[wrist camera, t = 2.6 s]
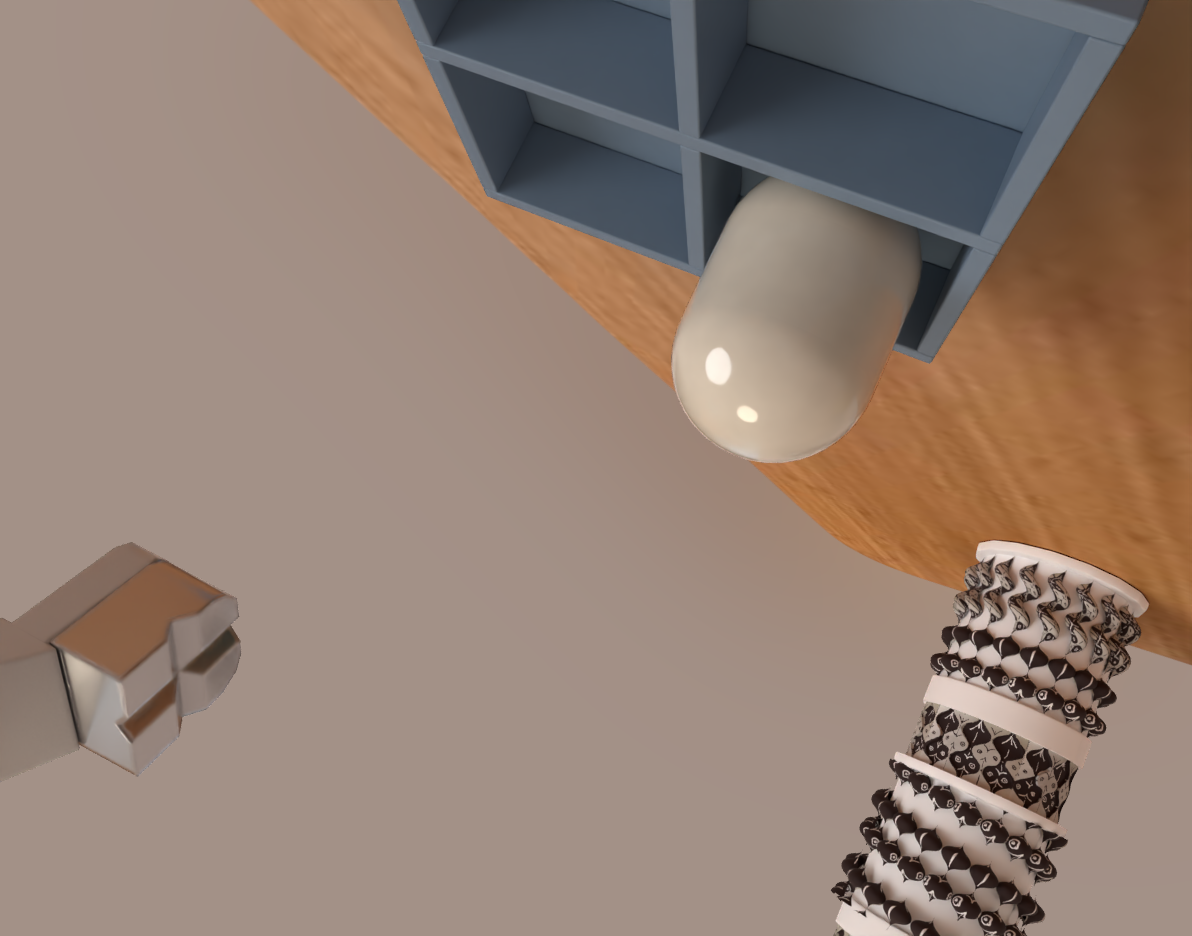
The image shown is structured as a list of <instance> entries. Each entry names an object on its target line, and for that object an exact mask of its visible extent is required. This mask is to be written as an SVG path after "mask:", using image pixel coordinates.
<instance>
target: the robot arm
mask: <svg viewBox="0 0 1192 936" xmlns="http://www.w3.org/2000/svg"><path fill="white" fill-rule="evenodd" d="M238 617H239V613H238V604H237V598H235V597H234V596H231V595H230V594H228V593H226V592H224V591H222V590H220V589H218V588H216V587H215V586H213V585H211V584H209V583H207V582H205V581H203V580H201V579H200V578H198V577H196V576H194V575H192V574H190V573H188V572H186V571H184V570H183V569H181V568H178V567H176V566H175V565H173V564H171V563H170V562H169V561H167V560H165V559H163V558H161V557H159V556H157V555H156V554H154V553H152V552H150V551H148V550H146V549H144V548H142V547H140V546H138V545H136V544H134V543H132V542H131V543H127V544H124V545H121V546H118V547H116V548H113V549H112V550H111V551H109V552H108V553H107V554H105V555H104V556H102V557H101V558H100V559H98V560H97V561H96V562H94V563H93V564H92V565H90V566H89V567H87V568H86V569H85V570H83V571H82V572H81V573H79V574H78V575H76V576H75V577H74V578H72V579H71V580H70V581H68V582H67V583H66V584H65V585H63V586H62V587H60V588H59V589H57V590H56V591H55V592H53V593H52V594H51V595H49V596H48V597H46V598H45V599H44V600H42V601H41V602H40V603H38V604H37V605H35V606H34V607H33V608H31V609H30V610H29V611H27V612H26V613H25V614H23V615H22V616H21V617H19V618H18V619H16V620H15V621H14V622H12V623H11V622H9V621H7V620H5V619H3V618H0V782H2V781H4V780H6V779H9V778H11V777H14V776H16V775H19V774H21V773H24V772H26V771H28V770H31V769H33V768H36V767H38V766H41V765H43V764H45V763H48V762H50V761H53V760H55V759H57V758H60V757H63V756H65V755H67V754H70V753H72V752H75V751H77V750H79V748H80V747H79V745H81V746H83V747H85V748H86V749H88V750H90V751H92V752H94V753H95V754H97V755H99V756H101V757H103V758H105V759H106V760H108V761H110V762H112V763H114V764H116V765H118V766H119V767H121V768H123V769H125V770H126V771H128V772H130V773H132V774H134V775H136V776H139V775H140V774H141V773H142V772H143V771H144V770H145V769H146V768H147V767H148V766H149V765H150V764H151V763H152V762H153V761H154V760H155V759H156V758H157V757H158V756H159V755H160V754H161V753H162V752H163V751H164V750H165V749H167V748H168V747H169V746H170V745H171V744H172V743H173V742H174V741H175V740H176V739H177V738H178V737H179V734H180V728H181V722H182V717H184V716H187V715H190V714H193V713H196V712H200V711H203V710H206V709H207V708H208V707H209V706H210V705H211V704H212V703H213V702H214V701H215V700H216V699H217V698H218V697H219V696H220V695H221V694H222V693H223V692H224V690H225V688H226V687H227V685H228V683H229V682H230V680H231V679H232V677H233V675H234V674H235V672H236V670H237V667H238V663H239V659H240V656H241V646H240V640H239V638H238V637H237V635H236V633H235V632H234V630H233V628H232V627H231V624H232V623H233V622H234V621H235V620H236V619H237V618H238Z"/></svg>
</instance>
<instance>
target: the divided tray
mask: <svg viewBox="0 0 1192 936" xmlns="http://www.w3.org/2000/svg"><path fill="white" fill-rule="evenodd" d="M397 1H398V3H399V6H400V8H401V10H402V12H403V14H404V16H405V19H406V21H407V23H408V25H409V27H410V29H411V32H412V34H413V36H414V38H415V40H417V41H416V43H417V45H418V47H419V49H420V51H421V53H422V54H423V58H424V60H425V62H426V64H427V67H428V69H429V71H430V73H431V75H432V77H433V80H434V82H435V84H436V86H437V88H438V91H439V93H440V95H441V97H442V99H443V101H444V104H445V106H446V108H447V110H448V112H449V114H450V117H451V119H452V121H453V123H454V125H455V128H456V130H457V132H458V134H459V136H460V138H461V141H462V143H463V145H464V147H465V149H466V152H467V154H468V156H469V158H470V160H471V162H472V165H473V167H474V169H475V171H476V173H477V175H478V178H479V180H480V182H481V184H482V186H483V187H484V191H485V193H486V195H487V196H488V197H491V198H493V199H496V200H499V201H501V202H504V203H507V204H509V205H512V206H515V207H517V208H520V209H522V210H525V211H528V212H530V213H533V214H536V215H538V216H541V217H544V218H546V219H549V220H551V221H554V222H557V223H559V224H562V225H565V226H567V227H570V228H573V229H575V230H578V231H581V232H583V233H586V234H588V235H591V236H594V237H596V238H599V239H602V240H604V241H607V242H610V243H612V244H615V245H617V246H620V247H623V248H625V249H628V250H631V251H633V252H636V253H639V254H641V255H644V256H647V257H649V258H652V259H654V260H657V261H660V262H662V263H665V264H668V265H670V266H673V267H676V268H678V269H681V270H683V271H686V272H689V273H691V274H694V275H697V276H699V277H700V276H701V274H702V272H703V270H704V268H705V266H706V264H707V262H708V259H709V257H710V255H711V253H712V251H713V249H714V247H715V245H716V243H717V240H718V238H719V236H720V234H721V232H722V230H723V228H724V226H725V224H726V221H727V220H728V218H729V216H730V214H731V213H732V211H733V209H734V208H735V207H736V205H737V204H738V203H739V202H740V200H741V199H742V198H743V196H744V195H745V194H746V193H747V192H748V191H749V190H750V189H751V188H752V187H754V186H755V185H756V184H758V183H759V182H760V181H762V180H763V179H764V178H766V177H767V176H771V177H774V178H777V179H779V180H782V181H785V182H788V183H791V184H794V185H797V186H799V187H802V188H805V189H808V190H811V191H814V192H817V193H819V194H822V195H825V196H828V197H831V198H834V199H837V200H839V201H842V202H845V203H848V204H851V205H854V206H857V207H860V208H862V209H865V210H868V211H871V212H874V213H877V214H880V215H882V216H885V217H888V218H891V219H894V220H897V221H900V222H902V223H905V224H908V225H911V226H914V227H917V228H918V230H919V234H920V237H921V243H922V251H923V264H922V274H921V279H920V284H919V288H918V291H917V294H916V297H915V300H914V302H913V304H912V307H911V309H910V311H909V314H908V316H907V318H906V321H905V323H904V325H903V328H902V330H901V332H900V335H899V337H898V339H897V342H896V344H895V346H894V349H893V350H895V351H897V352H900V353H903V354H905V355H908V356H910V357H913V358H916V359H918V360H921V361H924V362H926V363H931V362H932V360H933V359H934V357H935V355H936V354H937V352H938V351H939V349H940V347H941V346H942V344H943V342H944V341H945V339H946V338H947V336H948V334H949V333H950V331H951V329H952V328H953V326H954V325H955V323H956V321H957V320H958V318H959V316H960V315H961V313H962V311H963V310H964V308H965V307H966V305H967V303H968V302H969V300H970V298H971V297H972V295H973V294H974V292H975V290H976V289H977V287H978V285H979V284H980V282H981V281H982V279H983V277H984V276H985V274H986V272H987V271H988V269H989V267H990V266H991V264H992V263H993V261H994V259H995V258H996V256H997V254H998V253H999V251H1000V250H1001V248H1002V246H1003V245H1004V243H1005V242H1006V240H1007V238H1008V237H1009V235H1010V233H1011V232H1012V230H1013V228H1014V227H1015V225H1016V224H1017V222H1018V220H1019V219H1020V217H1021V215H1022V214H1023V212H1024V211H1025V209H1026V207H1027V206H1028V204H1029V202H1030V201H1031V199H1032V198H1033V196H1034V194H1035V193H1036V191H1037V189H1038V188H1039V186H1040V184H1041V183H1042V181H1043V180H1044V178H1045V176H1046V175H1047V173H1048V171H1049V170H1050V168H1051V167H1052V165H1053V163H1054V162H1055V160H1056V158H1057V157H1058V155H1059V154H1060V152H1061V150H1062V149H1063V147H1064V145H1065V144H1066V142H1067V140H1068V139H1069V137H1070V136H1071V134H1072V132H1073V131H1074V129H1075V127H1076V126H1077V124H1078V123H1079V121H1080V119H1081V118H1082V116H1083V114H1084V113H1085V111H1086V110H1087V108H1088V106H1089V105H1090V103H1091V101H1092V100H1093V98H1094V97H1095V95H1096V93H1097V92H1098V90H1099V88H1100V87H1101V85H1102V83H1103V82H1104V80H1105V79H1106V77H1107V75H1108V74H1109V72H1110V70H1111V69H1112V67H1113V66H1114V64H1115V62H1116V61H1117V59H1118V57H1119V56H1120V54H1121V53H1122V51H1123V49H1124V48H1125V45H1126V43H1127V42H1128V41H1129V39H1130V38H1131V36H1132V34H1133V33H1134V31H1135V30H1136V28H1137V26H1138V25H1139V23H1140V21H1141V18H1142V16H1143V13H1144V11H1145V8H1146V6H1147V3H1148V1H1149V0H397Z"/></svg>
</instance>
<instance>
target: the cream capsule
mask: <svg viewBox="0 0 1192 936" xmlns="http://www.w3.org/2000/svg"><path fill="white" fill-rule="evenodd" d="M922 264H923V251H922V243H921V237H920V234H919V230H918V228H917V227H914V226H911V225H908V224H905V223H902V222H900V221H897V220H894V219H891V218H888V217H885V216H882V215H880V214H877V213H874V212H871V211H868V210H865V209H862V208H860V207H857V206H854V205H851V204H848V203H845V202H842V201H839V200H837V199H834V198H831V197H828V196H825V195H822V194H819V193H817V192H814V191H811V190H808V189H805V188H802V187H799V186H797V185H794V184H791V183H788V182H785V181H782V180H779V179H777V178H774V177H771V176H767V177H766V178H764V179H763V180H762V181H760V182H759V183H758V184H756V185H755V186H754V187H752V188H751V189H750V190H749V191H748V192H747V193H746V194H745V195H744V196H743V198H742V199H741V200H740V202H739V203H738V204H737V205H736V207H735V208H734V209H733V211H732V213H731V214H730V216H729V218H728V220H727V221H726V224H725V226H724V228H723V230H722V232H721V234H720V236H719V238H718V240H717V243H716V245H715V247H714V249H713V251H712V253H711V255H710V257H709V259H708V262H707V264H706V266H705V268H704V270H703V272H702V274H701V276H700V278H699V281H698V283H697V285H696V287H695V289H694V291H693V293H692V295H691V297H690V300H689V302H688V304H687V306H686V308H685V310H684V312H683V315H682V317H681V319H680V322H679V324H678V327H677V329H676V332H675V336H674V340H673V345H672V355H671V363H672V377H673V383H674V387H675V390H676V393H677V396H678V399H679V402H680V404H681V406H682V408H683V410H684V412H685V413H686V415H687V416H688V418H689V419H690V421H691V422H692V424H693V425H694V426H695V427H696V428H697V429H698V430H699V431H700V433H701V434H702V435H703V436H704V437H705V438H707V439H708V440H709V441H711V442H712V443H713V444H715V445H716V446H717V447H719V448H720V449H722V450H724V451H726V452H728V453H730V454H732V455H735V456H737V457H740V458H743V459H747V460H751V461H757V462H763V463H783V462H791V461H797V460H800V459H804V458H807V457H810V456H813V455H815V454H817V453H820V452H822V451H824V450H825V449H827V448H829V447H830V446H832V445H834V444H835V443H837V442H838V441H839V440H840V439H842V438H843V437H844V436H845V435H846V434H848V432H849V431H850V430H851V429H852V428H853V427H854V426H855V425H856V424H857V422H858V421H859V420H860V418H861V417H862V415H863V414H864V412H865V411H866V409H867V407H868V405H869V403H870V401H871V399H872V397H873V395H874V393H875V390H876V388H877V386H878V383H879V381H880V379H881V376H882V374H883V372H884V370H885V367H886V365H887V363H888V360H889V358H890V356H891V353H892V351H893V349H894V346H895V344H896V342H897V339H898V337H899V335H900V332H901V330H902V328H903V325H904V323H905V321H906V318H907V316H908V314H909V311H910V309H911V307H912V304H913V302H914V300H915V297H916V294H917V291H918V288H919V284H920V279H921V274H922Z"/></svg>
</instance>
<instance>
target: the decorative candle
mask: <svg viewBox="0 0 1192 936" xmlns="http://www.w3.org/2000/svg"><path fill="white" fill-rule="evenodd" d="M976 558H977V559H978V560H979V561H980V563H979V564H977V565H974V566H971V567H968V568H967V569H966V571H965V576H964V582H965V584H966V586H967V588H968V590H967V591H964V592H961V593H959V594H957V595H956V596H955V598H954V603H953V608H954V611H955V612H956V615H957V617H958V620H959V623H960V620H961V623H960V625H959V627H958V625H956V626H949V627H945V628H944V629H943V630H942V640H943V642H944V643H945V644H946V645H947V647H948V649H950V650H949V653H948V651H947V652H945V653H938V654H934V655H933V656H932V657H931V667H932V669H933V670H934V671H935V672H936V674H937V675H933V676H932V679H931V682H930V684H929V687H928V689H927V691H926V694H925V696H924V699H923V703H924V704H925V706H924V709H923V711H922V714H921V716H920V719H919V722H918V724H917V726H916V729H915V731H914V734H913V737H912V739H911V742H910V744H909V746H908V749H907V752H906V755H905V754H902V753H899V752H896V754H895V757H894V760H891V759H890V761H889V765H890V767H891V769H892V770H893V771H894V773H895V774H896V779H897V777H899V780H898V782H897V785H896V787H895V790H894V791H890V789H891V787H890V788H889V789H880V790H877V791H876V792H875V794H873V796H872V803H873V805H874V806H875V807H876V809H877V811H878V814H879V813H881V814H882V816H883V819H881V815H879V816H878V817H868V818H866V819H865V821H864V822H862V823H861V824H860V832H861V833H862V835H863V836H864V838H865V840H866V842H867V844H868V845H869V846H870V849H871V850H870V853H869V854H862V855H861V853H851V854H848V855H847V856H846V859H845V860H843V862H842V869H843V871H844V872H845V873H846V875H847V877H848V879H849V881H847V882H839V883H837V884H836V886H835V887H833V888H832V889H831V891H832V892H833V893H837V894H838V895H840V896H838V898H839V900H840V901H841V900H842V901H843V903H842V906H841V908H840V911H839V913H838V916H837V919H836V922H837V923H838V926H837V929H836V931H835V934H834V936H1027V935H1026V934H1025V931H1024V930H1023V931H1022V932H1021V931H1020V930H1019V929H1018V927H1017V925H1018V923H1019V920H1020V919H1022V921H1023V925H1025V924H1026V925H1027V924H1030V923H1038V922H1042V921H1043V920H1044V919H1045V913H1044V911H1043V910H1042V908H1041V907H1040V906H1039V905H1038V904H1037V902H1036V899H1035V900H1033V899H1032V897H1031V896H1030V890H1031V887H1032V884H1033V881H1034V880H1035V884H1036V883H1038V882H1047V881H1050V880H1051V879H1054V878H1055V877H1056V875H1057V871H1056V868H1055V866H1054V865H1053V864H1052V863H1051V861H1050V860H1049V858H1048V855H1047V856H1045V855H1044V851H1045V853H1046V852H1049V851H1056V850H1059V849H1060V848H1062V847H1065V846H1066V845H1067V843H1068V840H1066V839H1064V837H1065V835H1066V832H1067V829H1065V828H1063V827H1062V826H1060V825H1058V822H1059V817H1060V812H1061V809H1062V807H1063V805H1064V803H1065V801H1066V799H1067V797H1068V794H1069V791H1070V786H1071V782H1072V780H1073V778H1074V775H1075V774H1076V772H1077V770H1079V769H1082V768H1083V765H1084V763H1085V760H1086V757H1087V755H1088V752H1089V749H1090V746H1091V743H1092V741H1090V740H1089V739H1088V737H1095V736H1098V735H1101V734H1103V733H1104V732H1105V731H1106V725H1105V723H1104V722H1103V721H1102V720H1101V719H1100V718H1099V717H1098V715H1097V713H1095V712H1096V709H1097V708H1101V707H1107V706H1109V705H1111V704H1113V703H1115V702H1116V699H1117V697H1116V695H1115V693H1114V692H1113V691H1112V690H1111V689H1110V687H1109V686H1108V685H1107V684H1106V681H1107V679H1108V677H1109V679H1110V678H1111V677H1112V676H1115V675H1118V674H1121V673H1123V672H1125V671H1126V670H1127V669H1128V668H1129V666H1130V664H1131V660H1130V656H1129V654H1128V653H1127V651H1126V649H1125V646H1128V645H1130V644H1132V643H1134V642H1136V641H1137V640H1138V639H1139V638H1140V636H1141V629H1140V627H1139V625H1138V623H1137V622H1136V620H1135V619H1134V617H1139V616H1141V615H1142V614H1143V613H1144V612H1145V611H1146V610H1147V608H1148V606H1149V603H1148V602H1147V600H1146V599H1145V597H1144V596H1143V594H1142V593H1141V592H1139V591H1138V590H1136V589H1135V588H1133V587H1132V586H1130V585H1129V584H1127V583H1126V582H1124V581H1122V580H1121V579H1119V578H1117V577H1115V576H1113V575H1111V574H1108V573H1106V572H1104V571H1102V570H1100V569H1098V568H1096V567H1093V566H1091V565H1089V564H1086V563H1084V562H1081V561H1078V560H1075V559H1072V558H1069V557H1067V556H1064V555H1061V554H1058V553H1055V552H1052V551H1048V550H1044V549H1040V548H1036V547H1032V546H1028V545H1024V544H1020V543H1013V542H1004V541H995V540H992V541H987V542H982V543H979V545H978V548H977V552H976ZM867 844H866V845H867ZM861 867H862V869H860V868H861ZM1035 884H1034V885H1035ZM844 894H846V896H844ZM1023 925H1022V926H1023Z"/></svg>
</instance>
